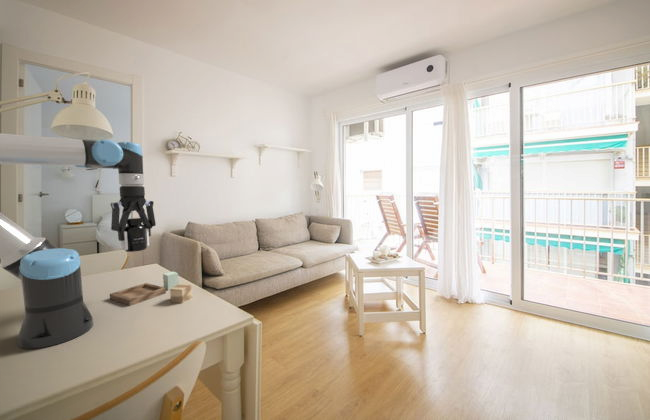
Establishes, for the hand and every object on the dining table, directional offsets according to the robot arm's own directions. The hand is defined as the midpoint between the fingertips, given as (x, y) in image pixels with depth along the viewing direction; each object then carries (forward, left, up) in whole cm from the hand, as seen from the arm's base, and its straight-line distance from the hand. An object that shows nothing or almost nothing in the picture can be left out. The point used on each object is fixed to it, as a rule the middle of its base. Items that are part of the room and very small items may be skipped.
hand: (135, 247), depth 103 cm
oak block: (+5, -18, -19) cm, 26 cm away
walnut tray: (0, 0, -19) cm, 19 cm away
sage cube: (+11, -3, -19) cm, 22 cm away
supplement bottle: (0, 0, -1) cm, 1 cm away
